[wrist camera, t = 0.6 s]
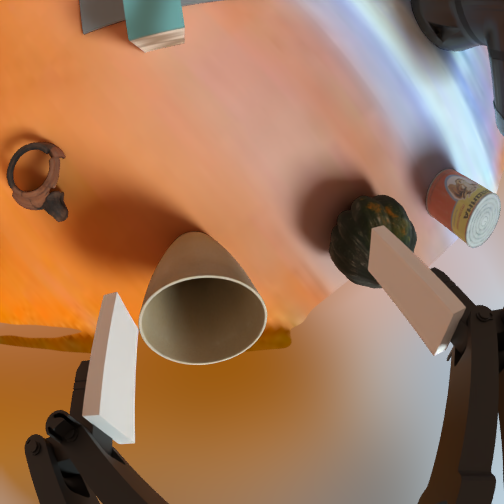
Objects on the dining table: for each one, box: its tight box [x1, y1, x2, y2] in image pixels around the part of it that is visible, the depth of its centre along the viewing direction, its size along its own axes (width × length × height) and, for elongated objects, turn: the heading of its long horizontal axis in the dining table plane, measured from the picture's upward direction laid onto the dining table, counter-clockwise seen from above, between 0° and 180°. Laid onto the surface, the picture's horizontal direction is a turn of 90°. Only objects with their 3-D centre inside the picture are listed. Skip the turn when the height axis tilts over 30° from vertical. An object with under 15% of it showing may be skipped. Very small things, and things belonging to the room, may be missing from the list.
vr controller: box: [7, 142, 68, 222], centre depth 32 cm, size 12×10×8 cm
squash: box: [329, 195, 417, 288], centre depth 45 cm, size 14×15×15 cm
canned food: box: [426, 169, 501, 248], centre depth 46 cm, size 11×11×12 cm
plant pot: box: [139, 232, 267, 365], centre depth 40 cm, size 15×15×16 cm
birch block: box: [123, 0, 185, 53], centre depth 23 cm, size 5×5×12 cm
